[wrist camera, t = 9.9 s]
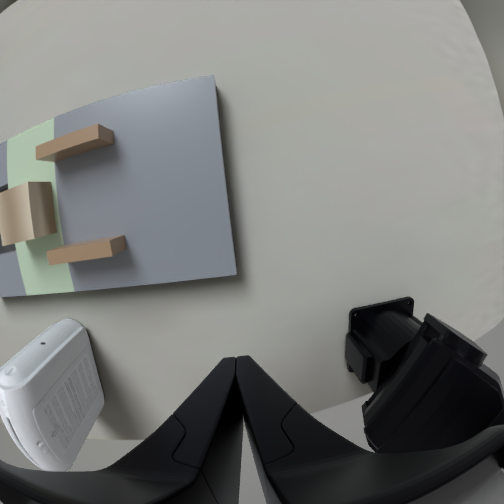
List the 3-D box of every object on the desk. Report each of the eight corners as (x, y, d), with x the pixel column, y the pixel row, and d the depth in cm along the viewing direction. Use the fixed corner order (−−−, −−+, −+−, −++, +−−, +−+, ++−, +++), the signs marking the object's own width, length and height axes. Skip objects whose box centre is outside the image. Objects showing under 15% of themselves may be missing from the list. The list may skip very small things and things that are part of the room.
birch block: (50, 181, 17) (27, 181, 14) (57, 232, 18) (34, 238, 15) (18, 192, 17) (-4, 194, 14) (24, 239, 18) (2, 246, 15)
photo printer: (53, 314, 21) (-28, 381, 9) (88, 318, 22) (9, 399, 10) (77, 397, 23) (30, 474, 11) (110, 405, 24) (69, 492, 12)
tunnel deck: (215, 85, 18) (211, 59, 14) (236, 267, 21) (237, 286, 17) (-19, 163, 18) (-47, 162, 13) (-1, 292, 21) (-27, 305, 16)
